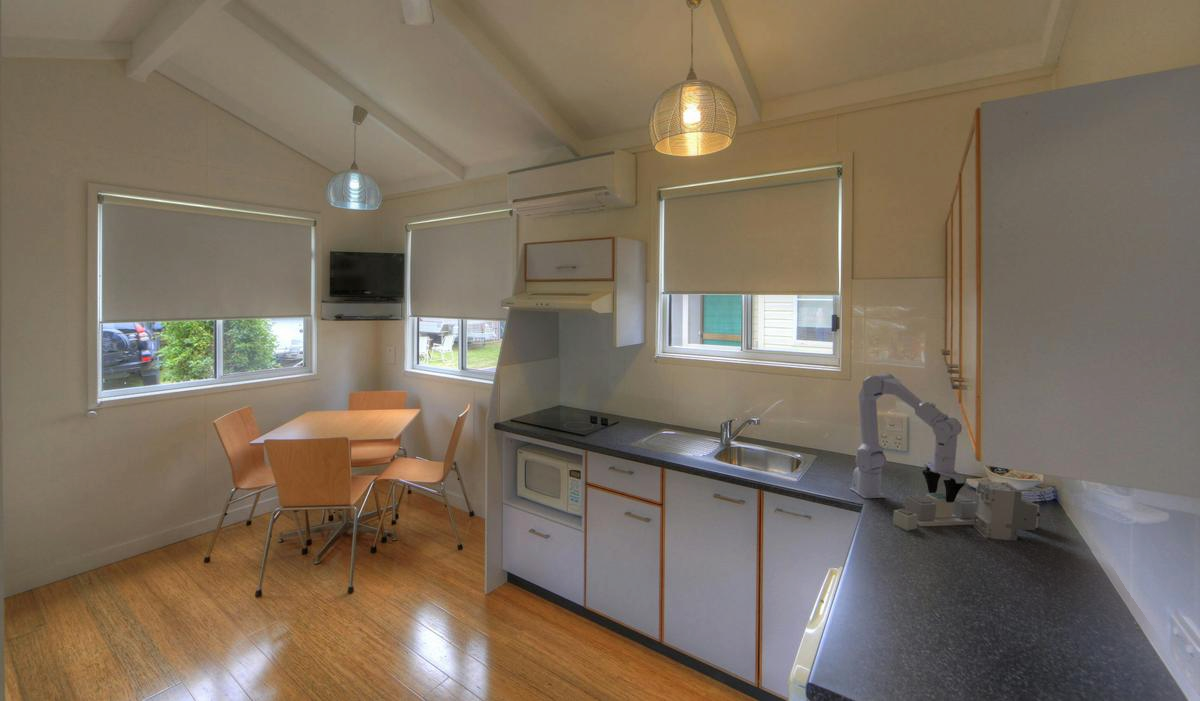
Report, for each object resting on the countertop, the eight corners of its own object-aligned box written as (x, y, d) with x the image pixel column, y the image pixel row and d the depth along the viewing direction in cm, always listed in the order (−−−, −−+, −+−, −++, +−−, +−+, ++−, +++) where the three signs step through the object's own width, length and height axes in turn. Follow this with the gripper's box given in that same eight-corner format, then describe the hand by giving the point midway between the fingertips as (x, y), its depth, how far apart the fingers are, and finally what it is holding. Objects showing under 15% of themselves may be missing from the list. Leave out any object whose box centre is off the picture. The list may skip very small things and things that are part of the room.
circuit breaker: (1040, 543, 153) (1045, 493, 152) (985, 537, 156) (990, 489, 154) (1025, 531, 160) (1030, 484, 159) (973, 527, 163) (977, 480, 162)
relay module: (924, 511, 170) (926, 493, 170) (941, 511, 171) (943, 492, 170) (934, 517, 166) (936, 498, 165) (952, 517, 167) (953, 498, 166)
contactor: (892, 524, 165) (893, 509, 164) (901, 522, 166) (903, 507, 166) (907, 530, 160) (908, 515, 160) (916, 529, 162) (917, 513, 161)
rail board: (901, 514, 172) (902, 494, 171) (957, 512, 174) (958, 492, 174) (920, 526, 163) (922, 505, 163) (979, 524, 165) (981, 503, 165)
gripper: (917, 449, 173) (913, 489, 175) (950, 463, 159) (946, 506, 160) (936, 449, 174) (933, 488, 176) (971, 463, 160) (967, 506, 161)
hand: (940, 497), depth 168 cm, fingers open, 7 cm apart
